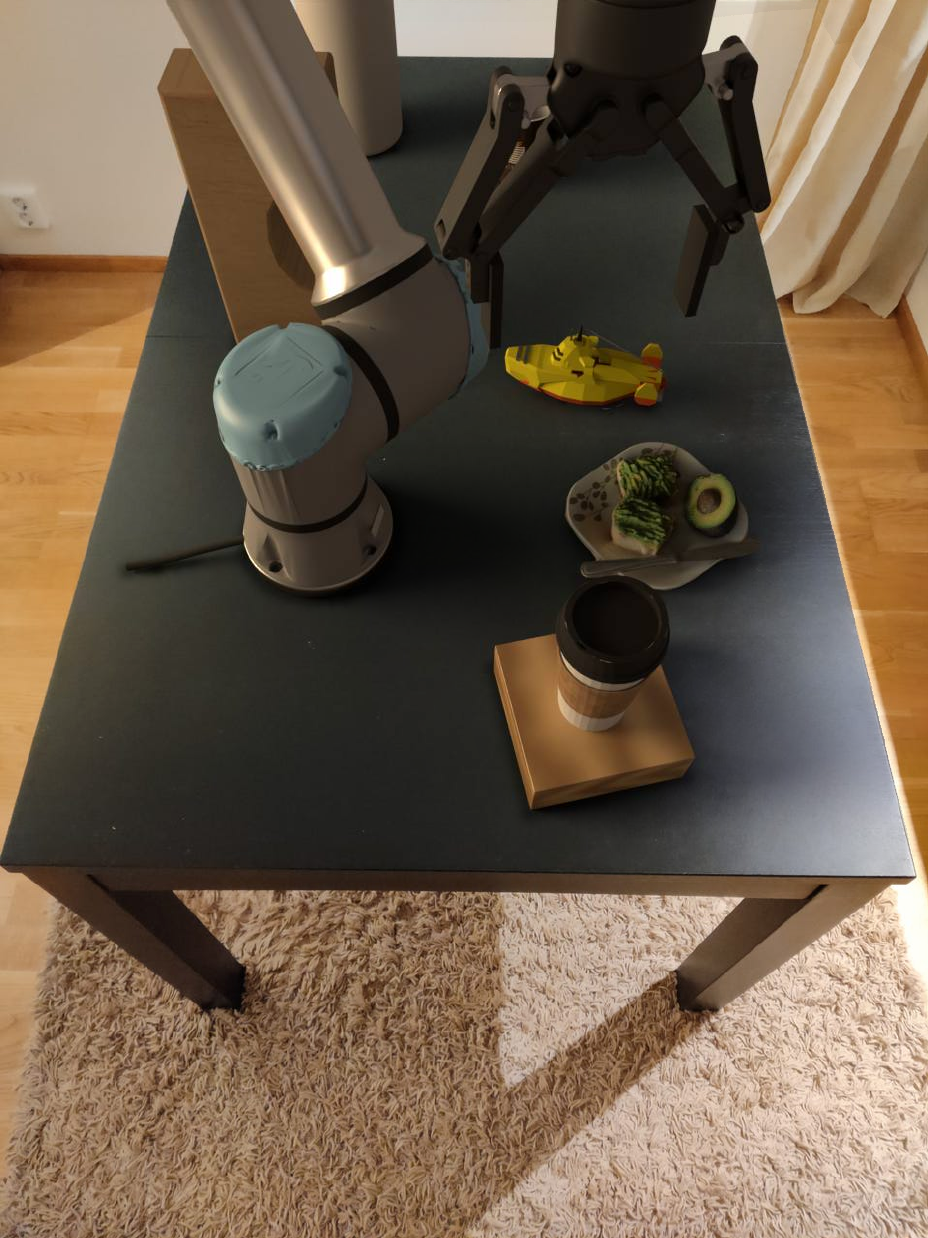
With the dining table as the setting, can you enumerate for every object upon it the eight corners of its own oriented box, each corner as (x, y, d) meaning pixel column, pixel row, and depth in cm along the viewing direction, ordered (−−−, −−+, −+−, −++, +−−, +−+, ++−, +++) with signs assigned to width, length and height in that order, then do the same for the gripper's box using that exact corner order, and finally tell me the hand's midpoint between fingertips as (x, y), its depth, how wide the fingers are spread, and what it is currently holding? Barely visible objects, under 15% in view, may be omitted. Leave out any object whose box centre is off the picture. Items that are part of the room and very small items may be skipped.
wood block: (530, 810, 75) (534, 792, 70) (493, 669, 81) (494, 645, 77) (682, 777, 76) (695, 757, 72) (634, 641, 83) (643, 615, 78)
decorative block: (367, 309, 106) (333, 49, 79) (360, 352, 102) (321, 95, 76) (248, 304, 106) (174, 45, 80) (236, 347, 103) (155, 90, 76)
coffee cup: (523, 697, 74) (534, 612, 61) (590, 639, 77) (615, 546, 64) (592, 765, 71) (619, 691, 58) (660, 703, 74) (701, 619, 61)
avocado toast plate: (632, 640, 83) (640, 617, 79) (521, 518, 90) (524, 491, 86) (775, 544, 88) (790, 518, 84) (660, 436, 95) (668, 407, 91)
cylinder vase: (353, 171, 119) (326, -36, 97) (299, 132, 124) (262, -74, 102) (420, 134, 123) (409, -73, 101) (366, 98, 128) (344, -107, 106)
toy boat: (657, 426, 96) (675, 359, 87) (499, 403, 98) (502, 335, 89) (662, 385, 99) (680, 316, 90) (509, 364, 101) (512, 294, 92)
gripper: (390, 27, 36) (418, 388, 55) (931, -40, 39) (783, 327, 57) (362, -56, 40) (397, 309, 58) (859, -113, 42) (741, 255, 61)
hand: (588, 319), depth 58 cm, fingers open, 13 cm apart
